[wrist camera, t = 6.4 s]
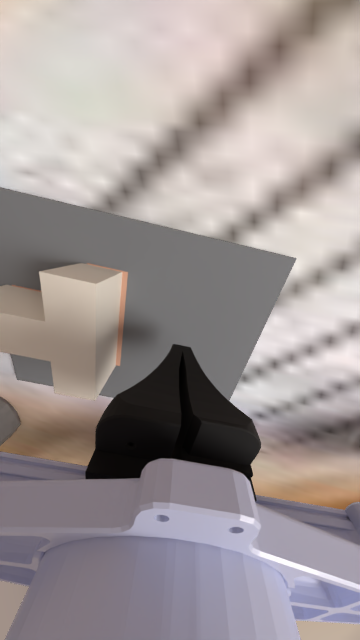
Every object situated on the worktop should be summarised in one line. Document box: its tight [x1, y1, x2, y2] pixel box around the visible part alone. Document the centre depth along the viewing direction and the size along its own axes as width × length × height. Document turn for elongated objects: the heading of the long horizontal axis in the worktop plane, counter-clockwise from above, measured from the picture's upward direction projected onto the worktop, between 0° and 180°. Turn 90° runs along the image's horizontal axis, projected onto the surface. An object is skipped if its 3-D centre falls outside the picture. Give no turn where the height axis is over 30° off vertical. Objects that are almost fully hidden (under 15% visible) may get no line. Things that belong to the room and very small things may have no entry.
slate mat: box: [0, 188, 296, 401], centre depth 15 cm, size 17×22×1 cm
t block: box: [0, 263, 122, 401], centre depth 13 cm, size 9×9×4 cm
